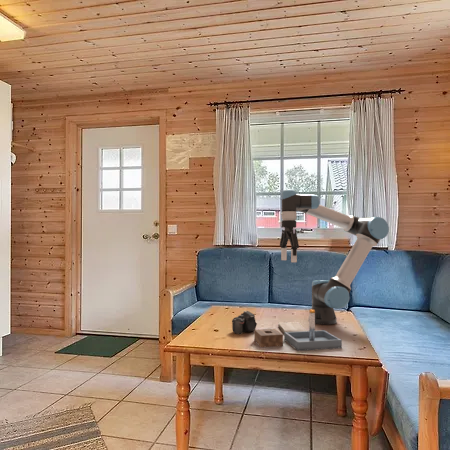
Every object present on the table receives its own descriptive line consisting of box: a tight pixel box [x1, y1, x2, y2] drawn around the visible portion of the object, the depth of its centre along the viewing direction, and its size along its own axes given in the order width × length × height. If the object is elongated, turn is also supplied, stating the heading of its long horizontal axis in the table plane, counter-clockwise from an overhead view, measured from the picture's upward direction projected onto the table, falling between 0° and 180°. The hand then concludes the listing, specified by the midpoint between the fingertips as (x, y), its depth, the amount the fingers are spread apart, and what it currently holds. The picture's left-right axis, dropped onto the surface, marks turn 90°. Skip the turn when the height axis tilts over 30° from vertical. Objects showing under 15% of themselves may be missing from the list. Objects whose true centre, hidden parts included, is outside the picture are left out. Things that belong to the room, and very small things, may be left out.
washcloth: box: [278, 321, 308, 335], centre depth 188 cm, size 12×18×3 cm, turn 4°
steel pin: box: [308, 309, 316, 341], centre depth 165 cm, size 2×2×14 cm
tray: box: [283, 329, 343, 352], centre depth 164 cm, size 20×16×4 cm
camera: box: [231, 310, 258, 335], centre depth 184 cm, size 13×10×10 cm
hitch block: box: [253, 328, 284, 348], centre depth 164 cm, size 10×10×5 cm
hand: (288, 261), depth 190 cm, fingers open, 13 cm apart
